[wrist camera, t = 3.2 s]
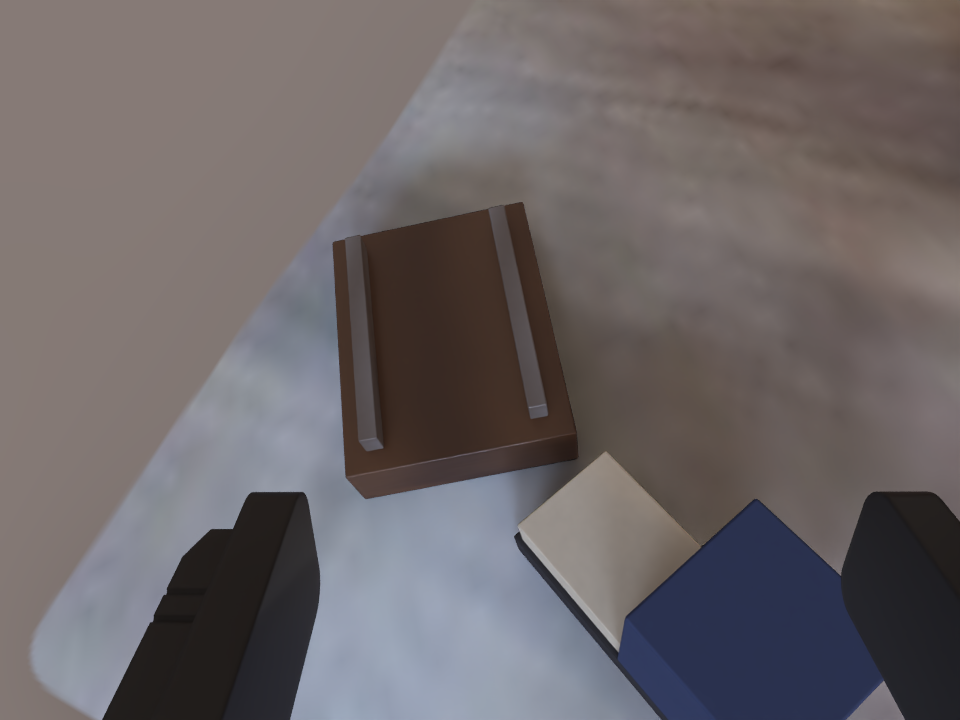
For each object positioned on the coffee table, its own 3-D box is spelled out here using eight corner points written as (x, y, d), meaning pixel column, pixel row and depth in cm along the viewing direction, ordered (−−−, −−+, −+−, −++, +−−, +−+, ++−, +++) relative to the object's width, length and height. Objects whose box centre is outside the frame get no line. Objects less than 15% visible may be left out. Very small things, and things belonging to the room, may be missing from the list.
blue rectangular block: (806, 684, 27) (917, 645, 18) (711, 779, 26) (776, 792, 17) (603, 475, 32) (605, 357, 23) (518, 548, 31) (482, 456, 22)
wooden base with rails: (528, 237, 39) (520, 184, 36) (578, 458, 33) (576, 421, 29) (349, 275, 40) (324, 226, 36) (365, 500, 33) (336, 468, 30)
